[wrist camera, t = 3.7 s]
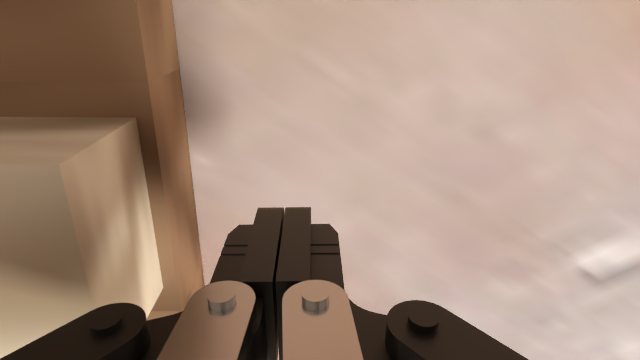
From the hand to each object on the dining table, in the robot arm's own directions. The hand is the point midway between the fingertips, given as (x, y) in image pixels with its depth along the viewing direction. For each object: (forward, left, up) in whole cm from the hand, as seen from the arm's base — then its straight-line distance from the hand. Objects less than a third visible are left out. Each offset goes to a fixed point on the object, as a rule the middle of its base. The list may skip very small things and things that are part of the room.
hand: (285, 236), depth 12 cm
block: (0, -7, -2) cm, 8 cm away
